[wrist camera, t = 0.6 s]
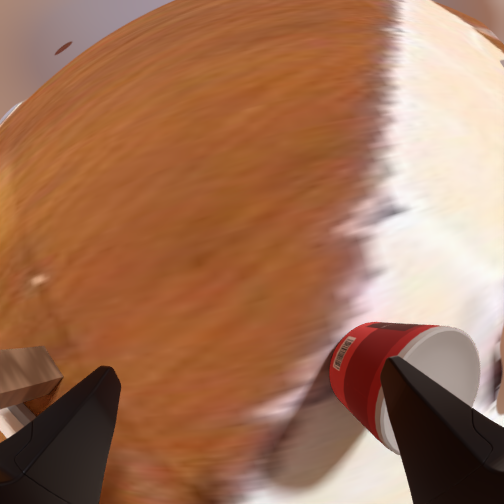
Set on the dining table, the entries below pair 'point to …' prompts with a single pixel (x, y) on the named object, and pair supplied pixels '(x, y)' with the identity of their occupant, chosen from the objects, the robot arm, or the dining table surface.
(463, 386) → the canned food
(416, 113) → the dining table surface
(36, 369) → the tall brown block
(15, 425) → the ridge block
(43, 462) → the robot arm
